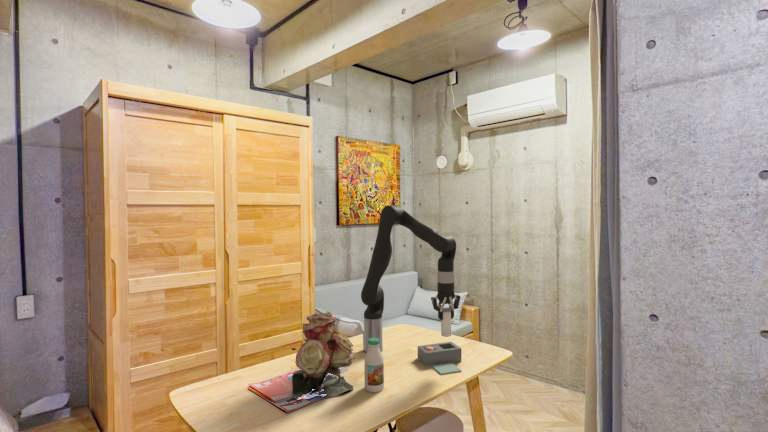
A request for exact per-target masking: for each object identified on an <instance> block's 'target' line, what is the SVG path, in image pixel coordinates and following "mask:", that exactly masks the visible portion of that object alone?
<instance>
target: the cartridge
mask: <svg viewBox="0 0 768 432" xmlns="http://www.w3.org/2000/svg"><path fill="white" fill-rule="evenodd" d="M442 312H443V320H440V327H441V328H440V331H441V332H440V335H441V337H444V338H445V337H446V338H449V337H451V336H452V319H451V308H449V306H446V307H445V306H444V307H443V310H442Z"/></svg>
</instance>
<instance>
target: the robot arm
mask: <svg viewBox="0 0 768 432" xmlns="http://www.w3.org/2000/svg"><path fill="white" fill-rule="evenodd" d="M394 225H398V226H399V225H400V226H402V227H405V228H406V229H408V230H409V231H410V232H411V233H412V234H413V235H414V236H416V237H417V238H418V239H420V240H422V241H423V242H426V243H427V244H428V245H430V247H432V249H434V250H436V251H437V252H438V253H441V256H440V257H439V258H438V260H437V274H436V275H437V276H436V277H437V279H436V281H437V283H436V286H437V287H436V288H437V289H436V291H437V294H436V296H431V298H430V299H431V300H430V301H431V304H432V307H433V310H435V311H436V312H437V317H438V320H439V321H441V320H443V312H442V310H443V307H445V305H448V307H449V308H451V320H453V319H454V318H455V310H457V309H458V308H459V306H460V303H461V302H460V301H461V295H459V294H455V271H454V269H455V268H454V267H455V266H454V265H455V264H454V262H455V257H456V251H457V242H456V241H457V240H456V239H455V238H454V237H453V236H450V235H446V236H445V235H444V236H443V235H440V234H439V232H438V231H437V230H436V229H435V228H433V227H432V226H429V225H427V224H426V223H424V222H423V221H420V220H419V219H417V218H415V217H413V216H412V215H411V214H410V213H409V212H407V211H406V209H404V208H402V207H401V206H399V205H394V204H393V205H385V206H384V207H383V208H382V209H381V212H380V216H379V223H378V230H377V235H376V239H375V242H374V243H375V244H374V247H373V250H372V255H371V258H370V264H369V267H368V271H367V275H366V278H365V281H364V283H363V286H362V289H361V292H360V299H361V301H362V304H363V305H365V306H367V307H366V309H364V311H363V328H364V329H363V332H362V348H363V349H362V350H363V352H365V355H366V354H367V351H368V348H369V345H368V339H370V338H378V339H379V341H380V343H379V344H380V345H379V349H380V351H381V353H382V352H383V350H384V347H383V313H384V308H385V294H384V293H385V292H384V290H383V287H381V286H380V282H381V279H382V278H383V276H384V274H385V273H386V271H387V269H388V267H389V265H390V262H391V257H392V254H393V253H392V252H393V246H392V241H391V240H392V239H391V236H392V230H393V226H394ZM453 300H454V301H453Z"/></svg>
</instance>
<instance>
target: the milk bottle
mask: <svg viewBox="0 0 768 432" xmlns="http://www.w3.org/2000/svg"><path fill="white" fill-rule="evenodd" d="M379 343H380V341H379V339H378V338H370V339H368V345H369V348H368V351H367V354H366V353H365V357H364V389H365V390H366V392H369V393H379V392H382V391H384V388H385V381H384V379H385V378H384V377H385V375H384V374H385V373H384V372H385V369H384V364H385V363H384V357H383V353H382V352H381V351H380V349H379V345H380V344H379Z"/></svg>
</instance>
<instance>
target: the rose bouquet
mask: <svg viewBox="0 0 768 432" xmlns="http://www.w3.org/2000/svg"><path fill="white" fill-rule="evenodd" d="M305 320H307V321H308V322H309V323H302V326H301V327H302V333H303V334H304V337H305V339H303V341H305V342H304V343H302V344H301V346H300V347H299V349H298V351H297V353H296V356H295V362H294V364H296V367H297V368H299V369H300V372H292V375H291V379H292V381H291V382H292V383H291V384H292V385H291V388H292V396H293V398H294V397H295V398H296V397H297V398H298V397H301V396H302V395H303V394H307V393H309V392H311V391H312V389H318V388H319V386H320V387H321V386H322V385H323V386H322V388H321V389H324V391H322V392H319V393H318V395H321V394H327V395H326V396H324V397H323V399H327V398H328V399H330V398H334V397H336V396H337V397H338V396H339V395H341V394H343V393H345V392H347V391H354V386H353V385H352V384H350V383H349V382H347V381H346V380H345V376H341V369H340V368H345V367H346V368H347V367H350V366H351V365H352V363H354V359H356V357H355V356H354V355H353V354H354V352H353V351H354V348H353V346H354V344H353V342H351V340H350V338H348V337H347V336H344V335H343V334H341V333H339V334H337V333H335V332H336V328H335V326H336V323H335V322H336V321H337V318H335V317H333V313H332V312H329V311H328V310H327V311H326V313H325V312H322V313H314V314H313V313H312V314H311V315H306V317H305ZM290 349H291V350H292V351H296V350H297V348H296V347H292V348H290ZM328 373H331V374H333V375H335V376H332V377H328V378H326V379H325V380H324V378H325V377H326V375H327V374H328ZM318 390H319V389H318Z"/></svg>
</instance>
